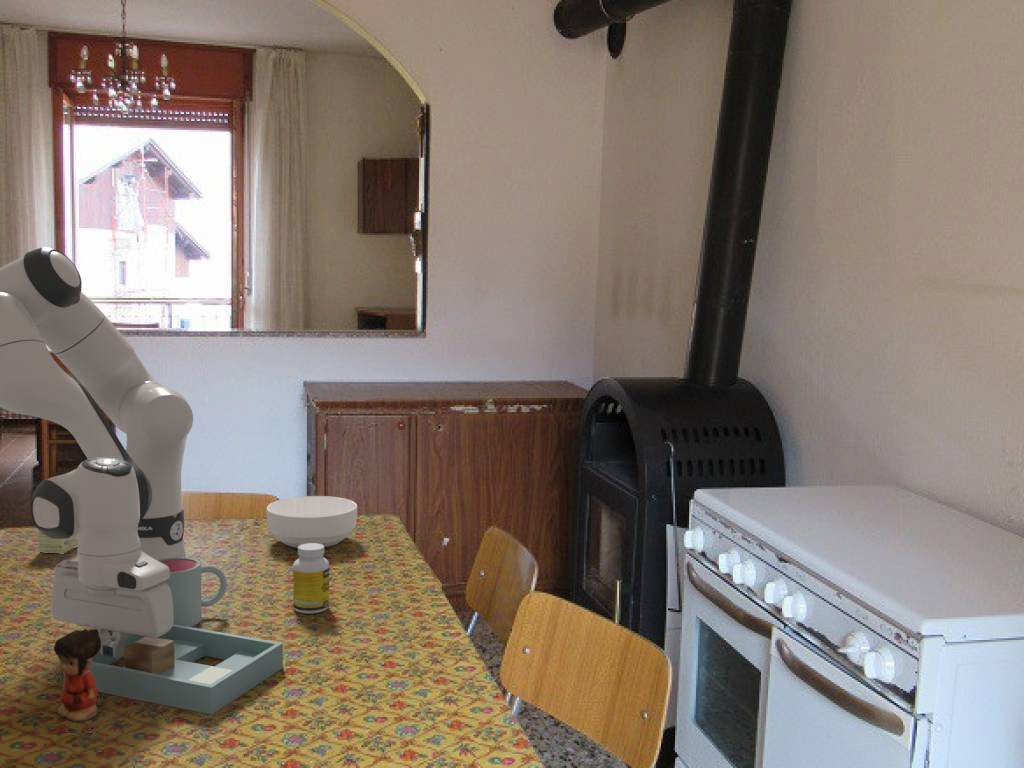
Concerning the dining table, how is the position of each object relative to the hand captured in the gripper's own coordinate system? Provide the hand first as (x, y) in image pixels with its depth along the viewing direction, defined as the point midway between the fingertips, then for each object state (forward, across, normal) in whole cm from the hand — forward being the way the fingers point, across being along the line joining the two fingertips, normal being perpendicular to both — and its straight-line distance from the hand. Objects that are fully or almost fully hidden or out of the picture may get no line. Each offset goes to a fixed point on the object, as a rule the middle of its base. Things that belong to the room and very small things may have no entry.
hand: (112, 655), depth 157 cm
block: (+1, +7, 0) cm, 7 cm away
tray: (+3, +9, +4) cm, 10 cm away
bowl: (+3, -10, +75) cm, 75 cm away
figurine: (+3, +5, -12) cm, 13 cm away
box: (+3, -56, +50) cm, 75 cm away
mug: (+3, -5, +25) cm, 25 cm away
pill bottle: (+3, +12, +38) cm, 40 cm away
